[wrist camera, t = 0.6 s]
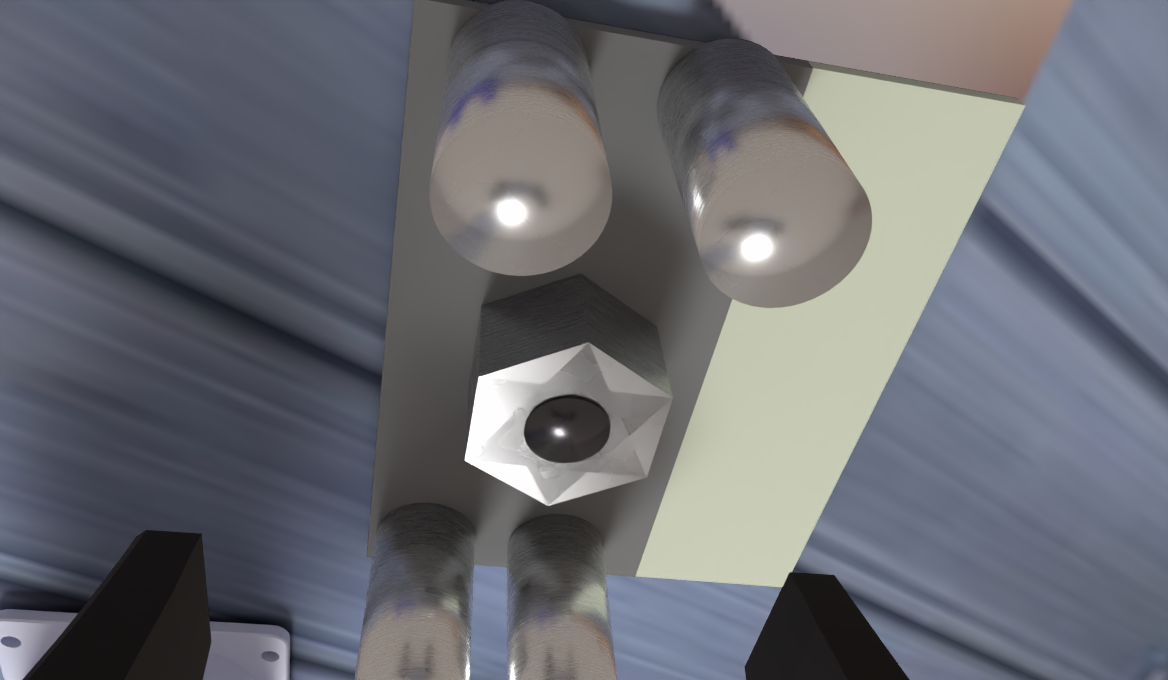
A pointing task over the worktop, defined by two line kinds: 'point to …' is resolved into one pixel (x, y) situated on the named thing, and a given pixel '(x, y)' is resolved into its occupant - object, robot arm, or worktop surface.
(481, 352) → the nut
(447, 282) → the mat
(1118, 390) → the worktop surface
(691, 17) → the worktop surface
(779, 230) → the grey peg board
